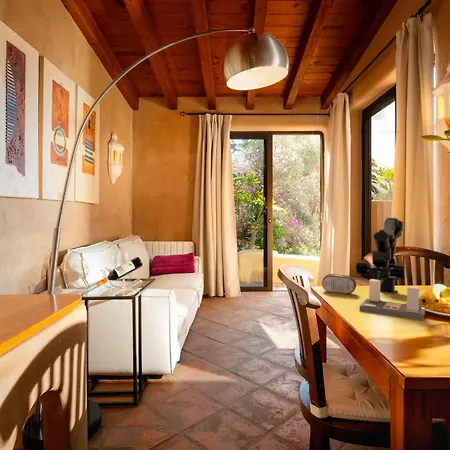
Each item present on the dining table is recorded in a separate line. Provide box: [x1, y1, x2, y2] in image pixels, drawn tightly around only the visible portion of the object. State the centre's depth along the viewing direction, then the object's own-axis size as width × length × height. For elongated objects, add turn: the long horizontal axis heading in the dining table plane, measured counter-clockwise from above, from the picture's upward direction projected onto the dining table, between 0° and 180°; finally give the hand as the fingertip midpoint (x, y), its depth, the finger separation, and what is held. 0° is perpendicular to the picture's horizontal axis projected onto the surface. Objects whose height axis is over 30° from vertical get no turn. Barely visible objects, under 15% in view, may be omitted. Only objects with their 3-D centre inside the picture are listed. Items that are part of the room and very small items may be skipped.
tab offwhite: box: [368, 278, 381, 302], centre depth 138 cm, size 3×4×8 cm
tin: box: [321, 273, 357, 295], centre depth 161 cm, size 15×3×8 cm, turn 65°
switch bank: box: [359, 298, 426, 322], centre depth 131 cm, size 12×21×2 cm, turn 56°
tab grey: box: [406, 285, 420, 311], centre depth 125 cm, size 3×4×8 cm
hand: (377, 286), depth 141 cm, fingers closed
